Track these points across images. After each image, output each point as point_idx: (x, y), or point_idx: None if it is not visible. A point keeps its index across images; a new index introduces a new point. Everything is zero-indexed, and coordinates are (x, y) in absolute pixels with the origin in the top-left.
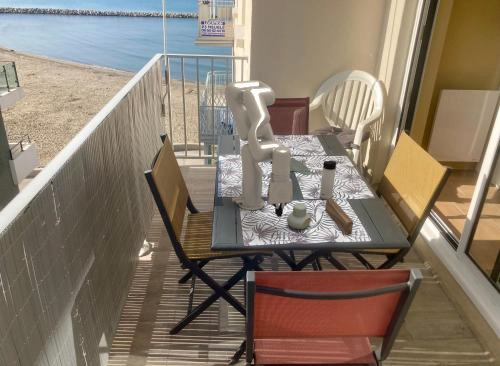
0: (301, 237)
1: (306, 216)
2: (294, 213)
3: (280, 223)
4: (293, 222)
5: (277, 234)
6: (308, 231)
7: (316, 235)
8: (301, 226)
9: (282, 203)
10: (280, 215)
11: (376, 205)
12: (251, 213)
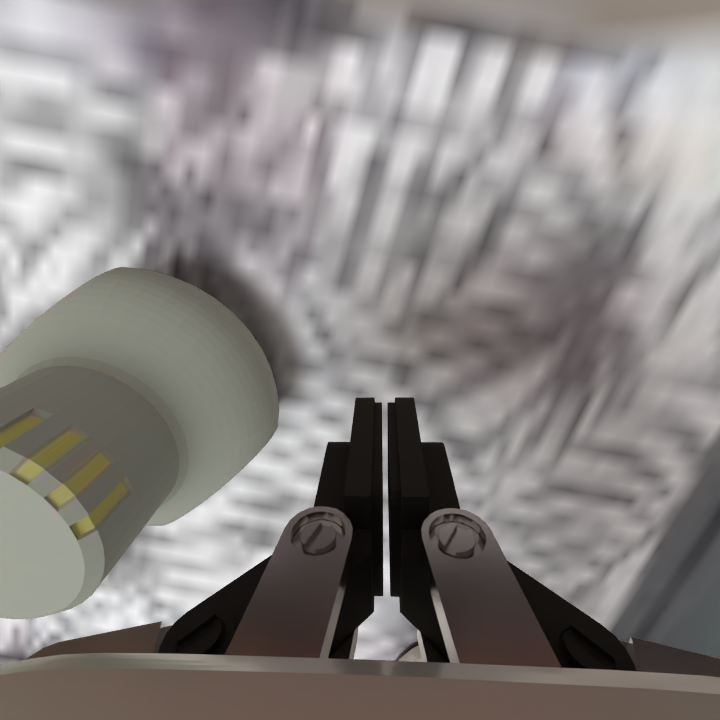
0: (181, 146)
1: (6, 381)
2: (145, 438)
3: (337, 433)
4: (209, 328)
5: (423, 255)
6: (94, 255)
7: (14, 160)
8: (131, 268)
9: (315, 642)
10: (375, 410)
11: None
12: None
